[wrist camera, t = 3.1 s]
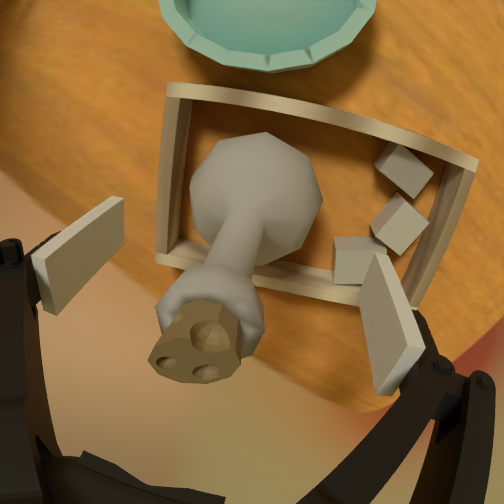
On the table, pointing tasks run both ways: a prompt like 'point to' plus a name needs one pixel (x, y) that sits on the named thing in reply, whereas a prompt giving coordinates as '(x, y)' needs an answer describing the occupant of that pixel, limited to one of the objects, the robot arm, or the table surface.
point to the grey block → (354, 258)
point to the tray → (284, 272)
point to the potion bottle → (233, 254)
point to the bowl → (267, 30)
